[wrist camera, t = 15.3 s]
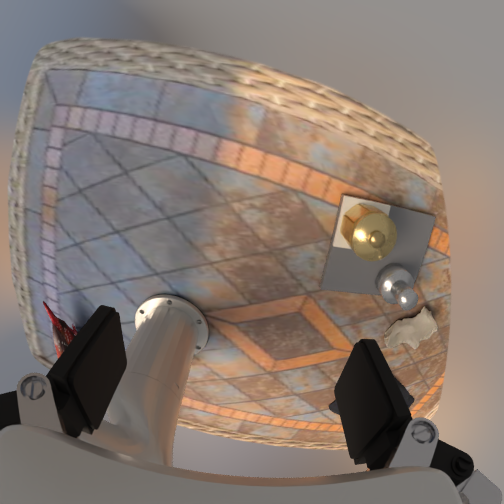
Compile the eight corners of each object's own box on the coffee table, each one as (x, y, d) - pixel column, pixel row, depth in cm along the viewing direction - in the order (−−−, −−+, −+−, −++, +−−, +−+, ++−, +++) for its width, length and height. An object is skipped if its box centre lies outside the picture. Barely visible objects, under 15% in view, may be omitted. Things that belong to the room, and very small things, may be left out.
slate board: (406, 294, 42) (408, 297, 41) (319, 286, 41) (320, 289, 40) (432, 215, 36) (435, 217, 35) (341, 193, 36) (343, 195, 35)
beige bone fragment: (378, 329, 44) (386, 345, 40) (425, 298, 42) (437, 312, 38) (386, 347, 46) (394, 363, 42) (431, 319, 44) (442, 332, 40)
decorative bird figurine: (82, 356, 48) (62, 387, 39) (55, 283, 42) (25, 311, 33) (92, 358, 48) (73, 391, 39) (66, 284, 42) (36, 314, 33)
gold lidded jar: (385, 208, 35) (405, 220, 29) (375, 249, 37) (392, 266, 32) (345, 200, 34) (361, 211, 29) (336, 244, 37) (349, 261, 31)
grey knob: (398, 295, 40) (416, 318, 34) (370, 292, 40) (387, 317, 34) (409, 265, 38) (431, 285, 32) (381, 260, 38) (401, 282, 32)
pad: (376, 251, 38) (378, 253, 37) (332, 244, 37) (333, 246, 37) (388, 205, 35) (390, 206, 35) (343, 195, 35) (345, 196, 34)
